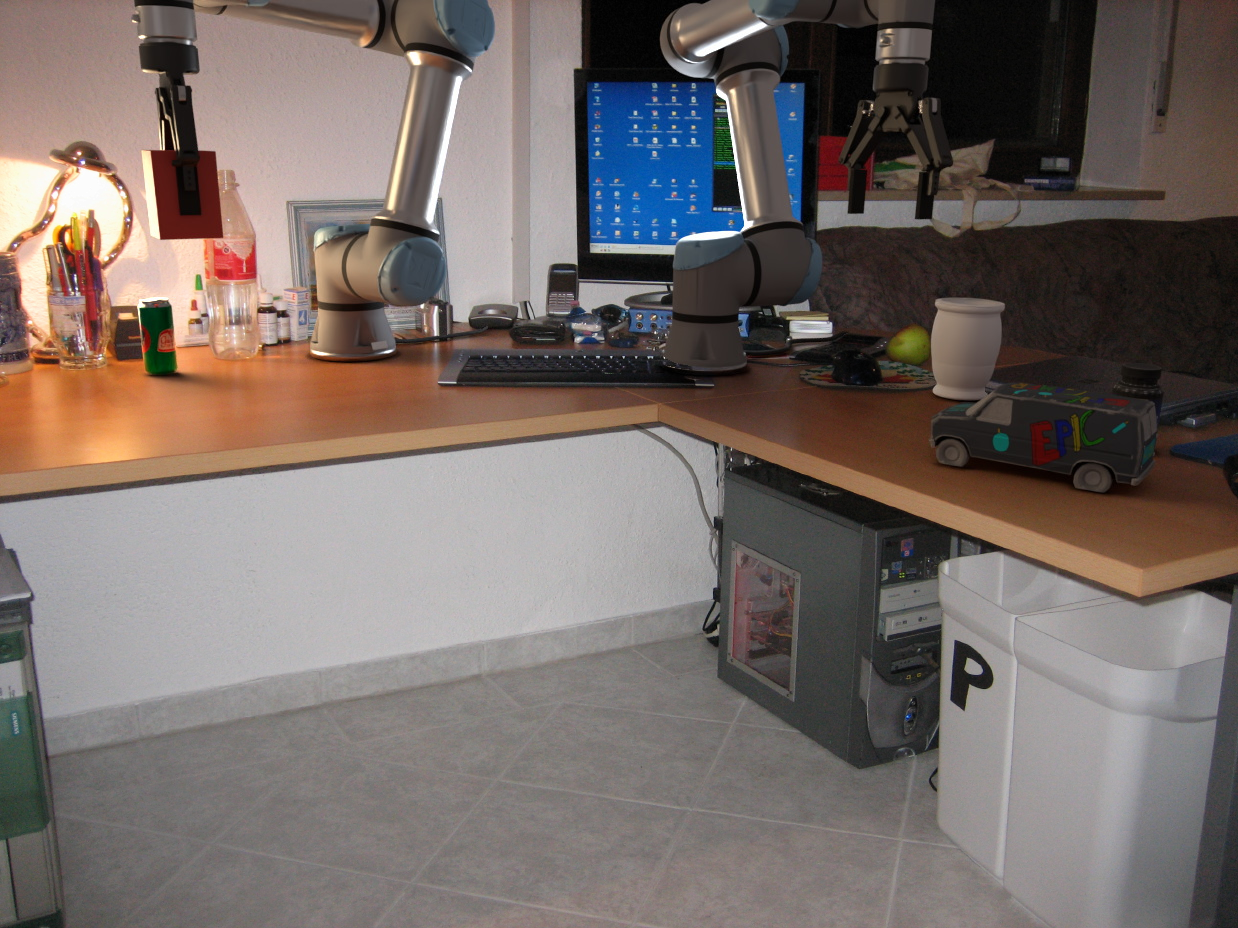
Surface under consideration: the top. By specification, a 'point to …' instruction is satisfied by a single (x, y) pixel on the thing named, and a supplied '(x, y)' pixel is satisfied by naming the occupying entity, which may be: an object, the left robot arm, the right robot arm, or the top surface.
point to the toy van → (1052, 433)
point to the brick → (166, 202)
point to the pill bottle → (1141, 384)
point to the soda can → (157, 336)
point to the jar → (965, 346)
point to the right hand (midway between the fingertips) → (888, 216)
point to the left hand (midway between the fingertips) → (184, 213)
